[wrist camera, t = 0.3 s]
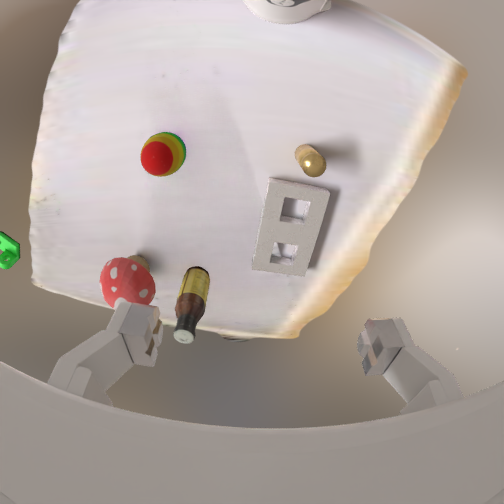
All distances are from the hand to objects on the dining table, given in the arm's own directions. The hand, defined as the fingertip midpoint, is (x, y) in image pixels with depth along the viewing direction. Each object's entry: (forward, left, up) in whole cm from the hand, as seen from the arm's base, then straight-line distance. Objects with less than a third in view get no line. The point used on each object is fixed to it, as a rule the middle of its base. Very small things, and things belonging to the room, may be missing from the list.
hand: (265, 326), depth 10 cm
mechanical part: (+35, -75, -45) cm, 95 cm away
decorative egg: (+4, -17, -45) cm, 48 cm away
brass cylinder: (+1, +9, -45) cm, 46 cm away
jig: (+17, +9, -45) cm, 49 cm away
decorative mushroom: (+32, -24, -45) cm, 60 cm away
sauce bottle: (+33, -9, -45) cm, 57 cm away
